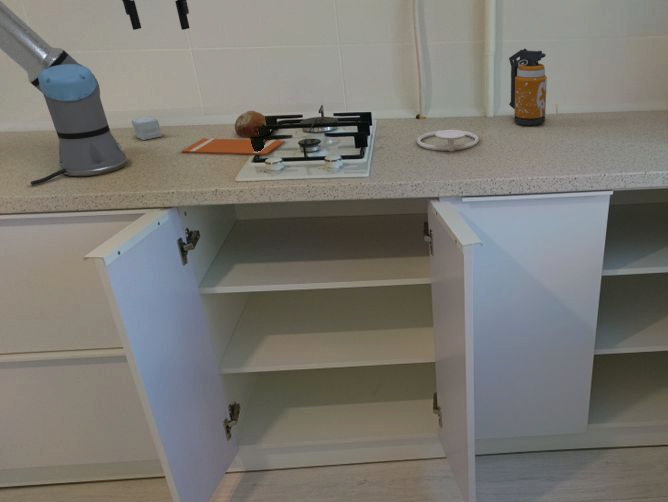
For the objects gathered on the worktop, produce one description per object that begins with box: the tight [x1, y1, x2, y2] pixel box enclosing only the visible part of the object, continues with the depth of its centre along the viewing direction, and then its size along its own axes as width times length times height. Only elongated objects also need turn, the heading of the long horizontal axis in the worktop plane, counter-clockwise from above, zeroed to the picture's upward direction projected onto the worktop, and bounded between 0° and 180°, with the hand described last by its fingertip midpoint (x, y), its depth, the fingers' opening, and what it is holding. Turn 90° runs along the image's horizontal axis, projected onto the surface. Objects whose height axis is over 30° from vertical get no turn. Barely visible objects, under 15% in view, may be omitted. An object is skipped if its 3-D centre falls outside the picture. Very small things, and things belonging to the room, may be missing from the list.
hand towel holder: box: [416, 129, 480, 153], centre depth 179 cm, size 17×4×21 cm
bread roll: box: [234, 110, 266, 139], centre depth 193 cm, size 10×10×8 cm
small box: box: [131, 116, 163, 141], centre depth 192 cm, size 6×6×5 cm
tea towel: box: [181, 137, 285, 156], centre depth 182 cm, size 12×24×1 cm, turn 81°
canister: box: [508, 48, 548, 127], centre depth 192 cm, size 9×11×20 cm
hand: (161, 29), depth 173 cm, fingers open, 13 cm apart
